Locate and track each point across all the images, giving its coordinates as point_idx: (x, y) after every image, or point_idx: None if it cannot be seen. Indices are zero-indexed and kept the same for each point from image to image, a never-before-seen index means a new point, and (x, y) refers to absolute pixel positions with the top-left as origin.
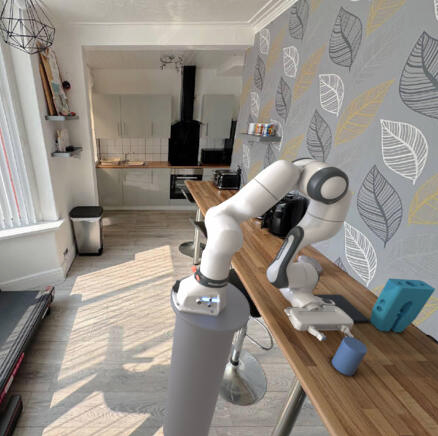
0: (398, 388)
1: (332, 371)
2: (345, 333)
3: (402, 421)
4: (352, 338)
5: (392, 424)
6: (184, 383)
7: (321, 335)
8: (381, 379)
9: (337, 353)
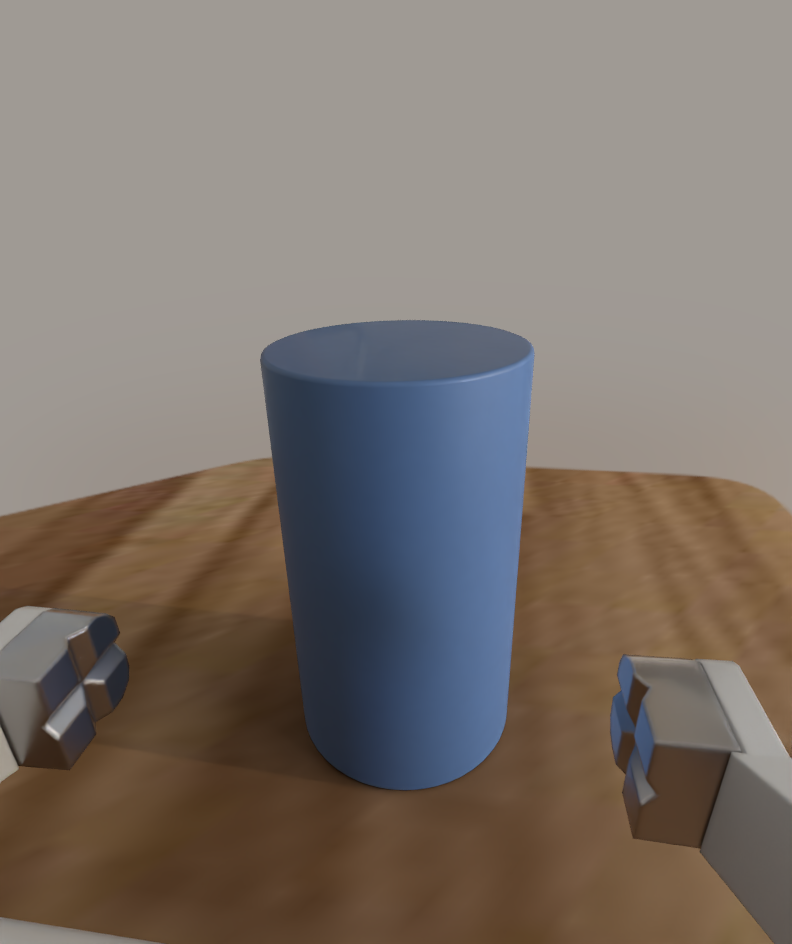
0: (151, 549)
1: (562, 678)
2: (50, 690)
3: None
4: (331, 366)
5: None
6: None
7: (727, 681)
8: (180, 591)
9: (507, 597)
